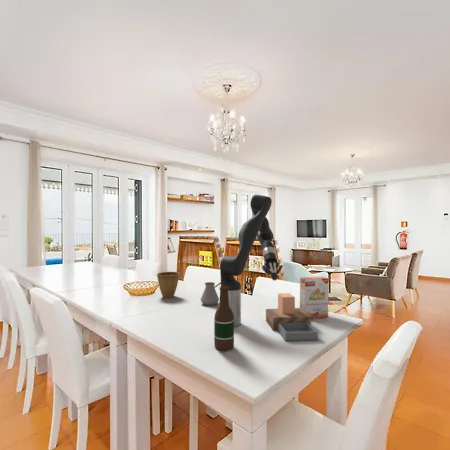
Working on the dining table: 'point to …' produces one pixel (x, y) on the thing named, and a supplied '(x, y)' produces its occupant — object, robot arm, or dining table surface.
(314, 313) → the cracker box
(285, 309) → the terracotta block
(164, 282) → the plant pot
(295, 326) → the box
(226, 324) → the beer bottle
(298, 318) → the walnut platform
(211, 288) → the coffee pot
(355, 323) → the dining table surface
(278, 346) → the dining table surface
